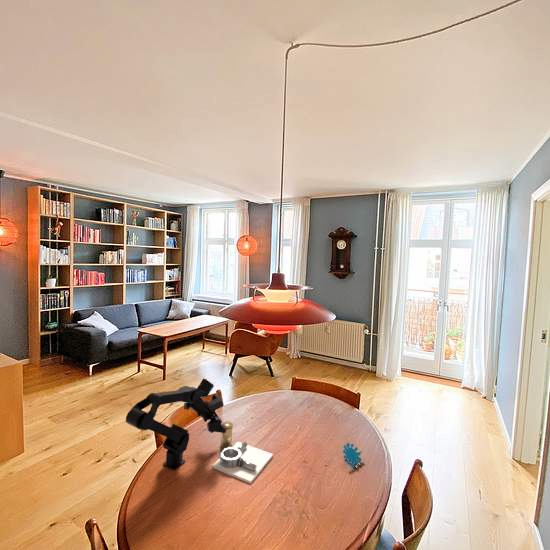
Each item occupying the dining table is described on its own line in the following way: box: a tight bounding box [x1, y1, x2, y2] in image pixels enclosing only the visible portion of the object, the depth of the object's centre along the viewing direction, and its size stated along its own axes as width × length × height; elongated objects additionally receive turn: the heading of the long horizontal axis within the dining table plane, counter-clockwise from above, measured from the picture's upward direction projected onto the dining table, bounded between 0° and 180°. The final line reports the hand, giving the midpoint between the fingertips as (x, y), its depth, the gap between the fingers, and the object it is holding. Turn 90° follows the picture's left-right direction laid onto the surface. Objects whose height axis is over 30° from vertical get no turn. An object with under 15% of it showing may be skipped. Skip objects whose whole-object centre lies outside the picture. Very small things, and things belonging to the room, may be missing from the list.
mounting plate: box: [211, 441, 274, 485], centre depth 136 cm, size 20×18×1 cm
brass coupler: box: [220, 421, 233, 449], centre depth 147 cm, size 5×5×10 cm
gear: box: [341, 442, 362, 468], centre depth 141 cm, size 11×6×10 cm
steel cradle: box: [219, 441, 257, 472], centre depth 136 cm, size 16×16×4 cm
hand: (222, 426), depth 146 cm, fingers open, 9 cm apart
